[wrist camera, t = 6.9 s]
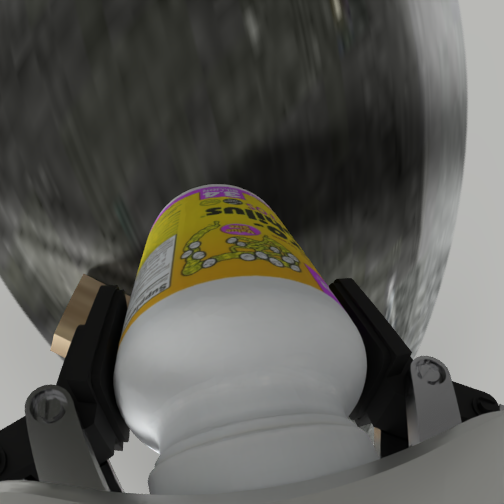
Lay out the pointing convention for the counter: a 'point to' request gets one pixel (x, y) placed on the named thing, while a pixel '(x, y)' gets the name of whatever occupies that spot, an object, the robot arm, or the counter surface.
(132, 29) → the counter surface
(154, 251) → the supplement bottle
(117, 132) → the counter surface
